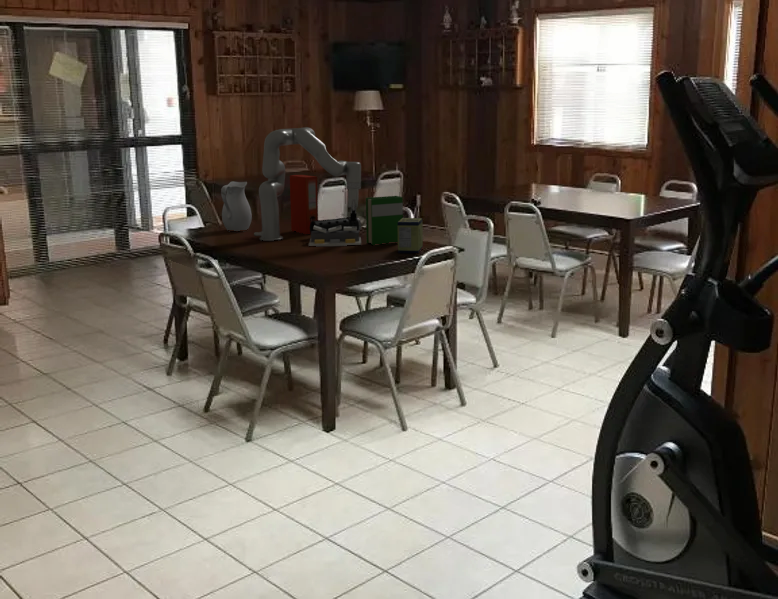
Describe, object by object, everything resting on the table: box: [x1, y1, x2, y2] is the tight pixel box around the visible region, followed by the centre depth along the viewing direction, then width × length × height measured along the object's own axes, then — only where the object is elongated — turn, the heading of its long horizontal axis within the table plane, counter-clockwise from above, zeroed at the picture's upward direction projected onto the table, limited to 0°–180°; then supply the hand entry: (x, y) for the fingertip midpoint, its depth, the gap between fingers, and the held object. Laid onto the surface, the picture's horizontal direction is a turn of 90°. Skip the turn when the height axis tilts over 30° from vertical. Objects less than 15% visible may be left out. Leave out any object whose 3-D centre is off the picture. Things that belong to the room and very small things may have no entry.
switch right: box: [344, 226, 357, 231], centre depth 446 cm, size 7×6×1 cm
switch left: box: [313, 225, 326, 233], centre depth 445 cm, size 7×6×1 cm
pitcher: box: [220, 181, 253, 231], centre depth 485 cm, size 24×17×28 cm
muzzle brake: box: [310, 216, 362, 233], centre depth 465 cm, size 10×28×10 cm, turn 124°
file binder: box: [289, 174, 319, 235], centre depth 479 cm, size 8×17×32 cm, turn 36°
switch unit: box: [308, 230, 362, 247], centre depth 445 cm, size 27×20×6 cm
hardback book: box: [365, 195, 404, 246], centre depth 441 cm, size 18×7×24 cm, turn 116°
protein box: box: [397, 217, 424, 254], centre depth 419 cm, size 10×16×16 cm
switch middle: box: [328, 225, 342, 232], centre depth 445 cm, size 7×6×1 cm
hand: (353, 220), depth 445 cm, fingers closed
